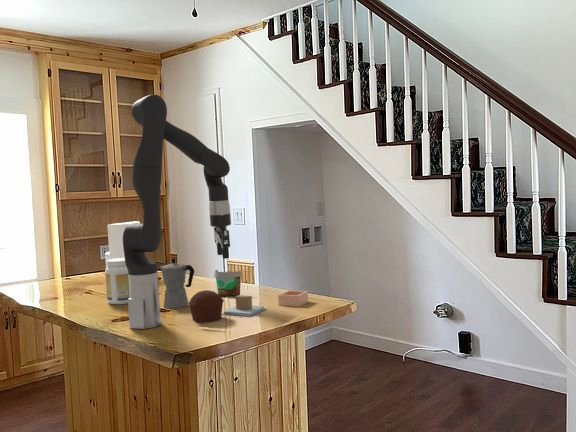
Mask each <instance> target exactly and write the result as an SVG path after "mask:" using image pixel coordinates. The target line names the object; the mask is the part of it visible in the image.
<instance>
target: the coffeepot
mask: <svg viewBox="0 0 576 432" xmlns="http://www.w3.org/2000/svg"><path fill="white" fill-rule="evenodd" d="M170 260H171V263H169V264H165V265H162V266H159V267H158V268H159V269H160V270H161V273H162V278H163V284H164V286H165V291H164V301H163V307H164V308H165V309H169V310H173V309H175V310H176V309H182V308H183V309H184V308H186V307H188V306H189V299H188V296H187V295H188V294H187V291H186V288H190V287H191V286H192V282H193V277H194V275H195V269H194V268H193V266H192V265H191V264H181V263H176V258H173V257H172V258H170ZM187 271H189V273H188V274H189V275H188V280H187V281H188V282H187V284H185V283H186V274H187V273H186V272H187ZM185 287H186V288H185Z"/></svg>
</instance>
